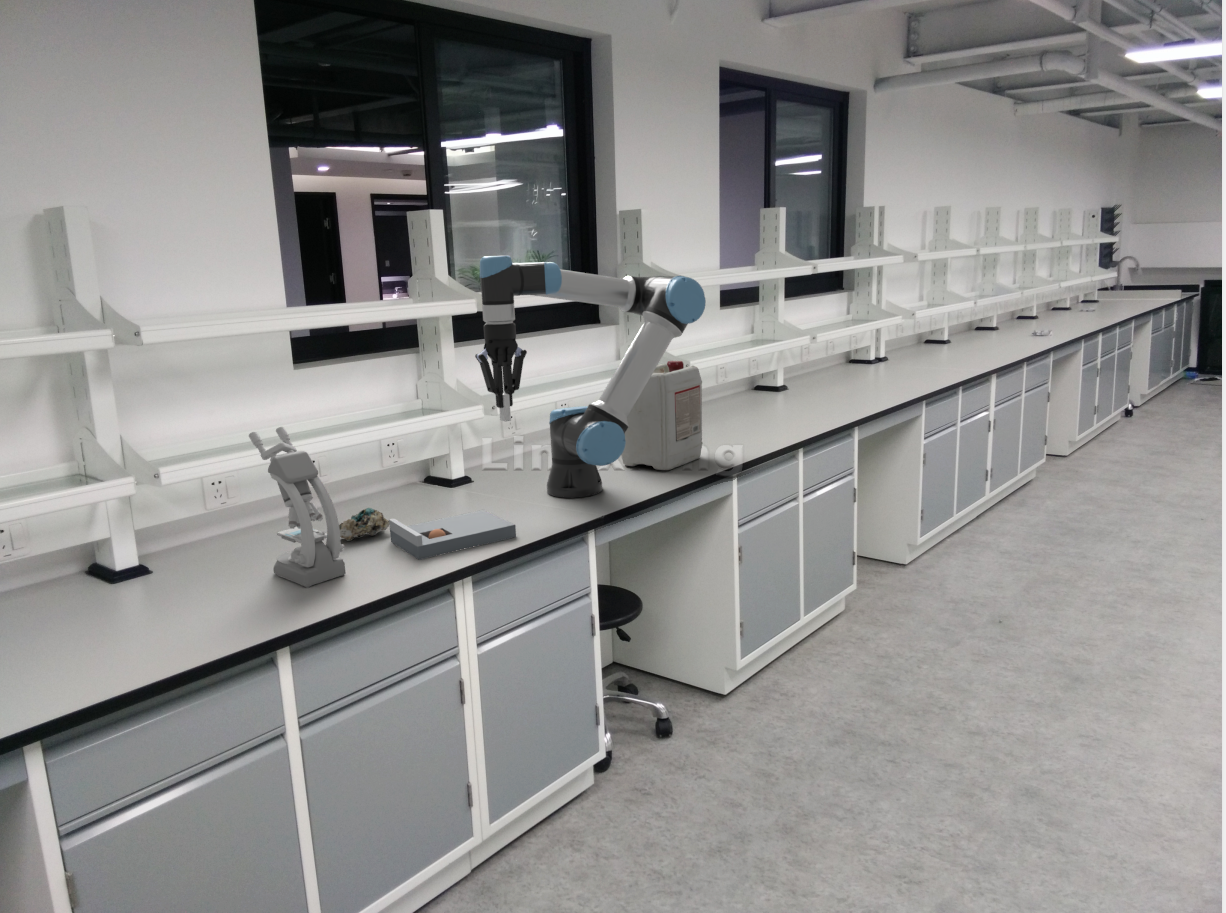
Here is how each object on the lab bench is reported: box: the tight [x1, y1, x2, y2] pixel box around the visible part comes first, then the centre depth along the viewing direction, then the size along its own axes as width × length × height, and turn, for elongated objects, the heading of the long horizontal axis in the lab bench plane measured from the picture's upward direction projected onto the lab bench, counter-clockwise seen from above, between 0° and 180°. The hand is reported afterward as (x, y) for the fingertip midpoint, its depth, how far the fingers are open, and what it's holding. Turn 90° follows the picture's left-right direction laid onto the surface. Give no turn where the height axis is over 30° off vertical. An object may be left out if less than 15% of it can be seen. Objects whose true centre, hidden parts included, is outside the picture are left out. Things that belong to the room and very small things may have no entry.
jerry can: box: [620, 360, 704, 471], centre depth 271 cm, size 24×19×30 cm
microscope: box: [248, 426, 346, 588], centre depth 185 cm, size 11×19×30 cm, turn 49°
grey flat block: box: [388, 509, 517, 561], centre depth 207 cm, size 24×16×5 cm, turn 125°
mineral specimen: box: [339, 507, 390, 542], centre depth 211 cm, size 12×9×8 cm
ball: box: [428, 529, 446, 539], centre depth 203 cm, size 4×4×4 cm
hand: (505, 420), depth 218 cm, fingers closed
